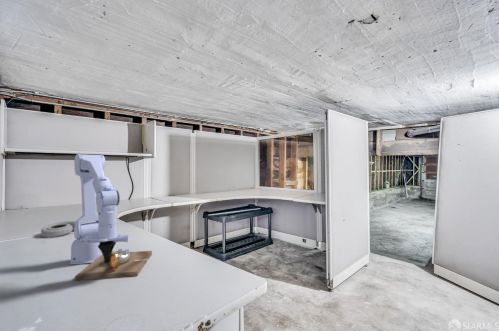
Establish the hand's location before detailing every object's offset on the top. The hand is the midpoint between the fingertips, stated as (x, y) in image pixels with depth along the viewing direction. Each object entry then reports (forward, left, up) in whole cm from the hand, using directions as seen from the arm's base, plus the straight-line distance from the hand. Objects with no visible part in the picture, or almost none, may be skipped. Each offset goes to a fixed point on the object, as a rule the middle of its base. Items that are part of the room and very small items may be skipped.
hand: (107, 262), depth 86 cm
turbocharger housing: (-51, +65, -5) cm, 83 cm away
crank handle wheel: (+1, +6, -3) cm, 7 cm away
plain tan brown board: (+1, +9, -5) cm, 10 cm away
